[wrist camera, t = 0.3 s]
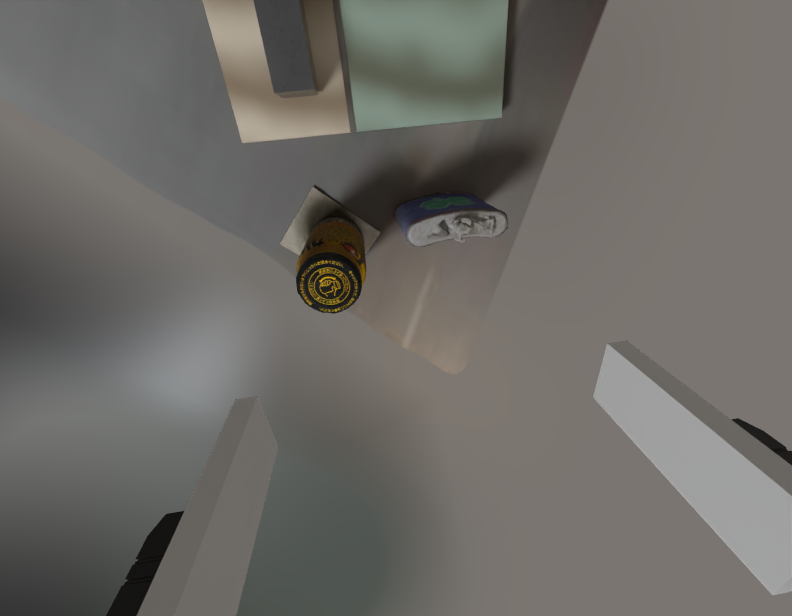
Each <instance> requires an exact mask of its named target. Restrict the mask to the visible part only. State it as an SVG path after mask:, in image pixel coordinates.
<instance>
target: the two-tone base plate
mask: <svg viewBox="0 0 792 616" xmlns="http://www.w3.org/2000/svg"><path fill="white" fill-rule="evenodd" d="M203 4H204V7H205V11H206V15H207V18H208V22H209V25H210V29H211V32H212V36H213V40H214V43H215V47H216V50H217V54H218V58H219V61H220V65H221V68H222V72H223V75H224V79H225V83H226V86H227V90H228V93H229V97H230V101H231V104H232V108H233V111H234V115H235V119H236V122H237V126H238V129H239V133H240V136H241V140H242V143H251V142H261V141H272V140H282V139H292V138H302V137H312V136H322V135H333V134H343V133H353V132H363V131H373V130H384V129H394V128H404V127H414V126H424V125H434V124H445V123H455V122H465V121H475V120H485V119H495V118H502V102H503V85H504V68H505V50H506V33H507V16H508V0H303V5H304V11H305V17H306V23H307V29H308V35H309V41H310V46H311V52H312V58H313V64H314V70H315V76H316V82H317V88H318V94H319V95H314V96H303V97H292V98H282V97H280V96H278V95H276V94H275V93H274V91H273V86H272V82H271V77H270V73H269V68H268V64H267V59H266V55H265V50H264V46H263V42H262V37H261V33H260V28H259V24H258V19H257V15H256V10H255V6H254V1H253V0H203Z"/></svg>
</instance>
